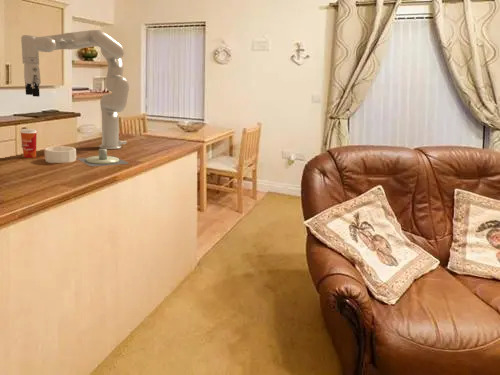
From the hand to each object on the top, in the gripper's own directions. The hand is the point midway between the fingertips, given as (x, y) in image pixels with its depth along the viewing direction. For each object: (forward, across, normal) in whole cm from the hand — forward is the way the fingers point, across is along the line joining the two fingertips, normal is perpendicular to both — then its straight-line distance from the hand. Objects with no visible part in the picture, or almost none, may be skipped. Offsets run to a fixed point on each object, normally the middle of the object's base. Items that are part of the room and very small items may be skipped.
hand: (32, 95), depth 222 cm
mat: (+30, -35, -21) cm, 50 cm away
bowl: (+30, -24, -4) cm, 39 cm away
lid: (+30, -35, -21) cm, 50 cm away
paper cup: (+30, -10, +6) cm, 32 cm away
